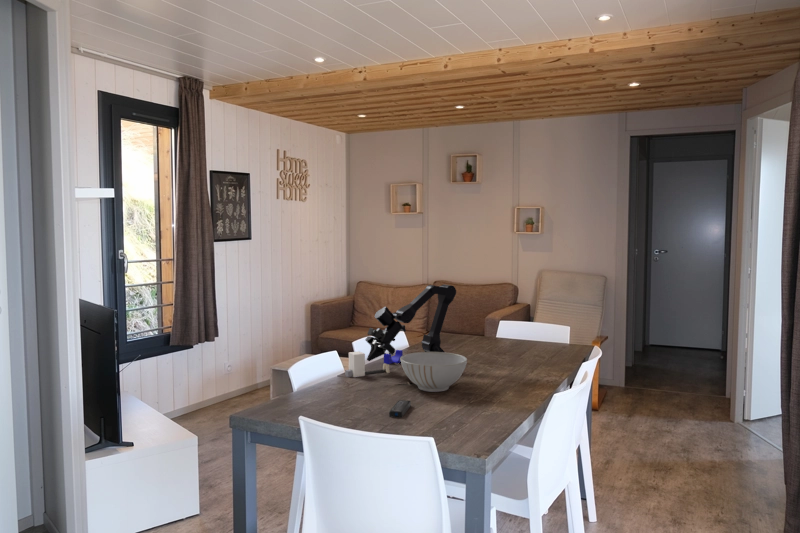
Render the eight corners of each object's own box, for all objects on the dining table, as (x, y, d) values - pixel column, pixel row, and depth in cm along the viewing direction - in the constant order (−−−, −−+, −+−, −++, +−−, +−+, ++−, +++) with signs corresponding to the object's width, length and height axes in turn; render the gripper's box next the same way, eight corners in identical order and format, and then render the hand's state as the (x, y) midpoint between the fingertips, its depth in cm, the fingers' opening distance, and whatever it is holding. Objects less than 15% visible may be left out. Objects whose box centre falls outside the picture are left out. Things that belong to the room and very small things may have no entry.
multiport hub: (410, 406, 219) (410, 400, 218) (401, 418, 205) (401, 412, 204) (398, 406, 220) (398, 399, 219) (388, 417, 206) (388, 411, 205)
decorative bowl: (410, 399, 227) (411, 367, 227) (392, 382, 253) (392, 353, 253) (477, 394, 235) (477, 363, 234) (453, 378, 260) (453, 350, 260)
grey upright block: (359, 373, 263) (359, 351, 262) (364, 375, 258) (364, 353, 258) (348, 374, 260) (348, 352, 260) (354, 377, 256) (354, 354, 255)
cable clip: (394, 361, 294) (394, 349, 294) (402, 362, 292) (402, 350, 291) (381, 366, 284) (381, 353, 283) (389, 367, 281) (389, 354, 281)
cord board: (382, 372, 271) (383, 361, 271) (393, 376, 262) (393, 366, 262) (341, 377, 261) (341, 366, 261) (351, 382, 253) (351, 371, 252)
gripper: (369, 318, 271) (346, 345, 267) (388, 323, 255) (365, 352, 250) (384, 334, 275) (363, 360, 271) (405, 340, 259) (382, 369, 255)
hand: (367, 360), depth 261 cm, fingers closed
